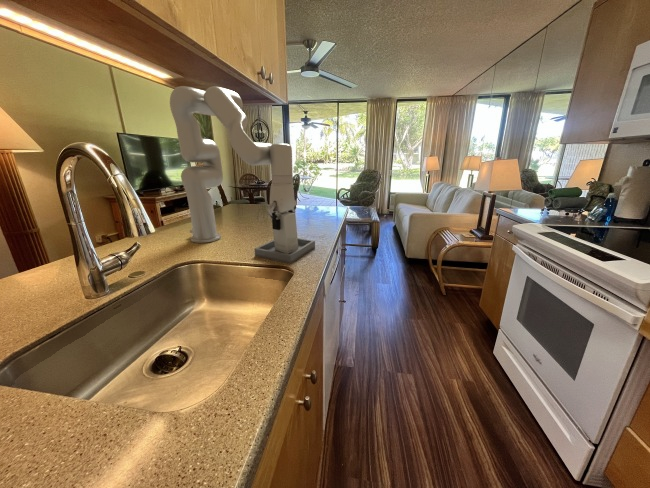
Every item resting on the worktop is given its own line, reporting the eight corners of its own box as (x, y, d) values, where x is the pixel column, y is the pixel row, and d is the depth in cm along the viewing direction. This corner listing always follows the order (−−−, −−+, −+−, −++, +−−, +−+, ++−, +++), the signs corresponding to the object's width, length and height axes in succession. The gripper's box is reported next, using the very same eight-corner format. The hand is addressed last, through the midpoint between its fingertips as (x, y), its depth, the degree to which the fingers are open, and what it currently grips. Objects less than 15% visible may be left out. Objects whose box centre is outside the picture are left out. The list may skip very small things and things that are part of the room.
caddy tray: (255, 256, 99) (254, 248, 98) (282, 242, 115) (282, 235, 114) (290, 263, 93) (290, 255, 92) (315, 247, 108) (315, 240, 107)
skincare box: (298, 250, 102) (297, 213, 97) (286, 254, 98) (284, 215, 93) (285, 245, 108) (283, 209, 103) (273, 249, 104) (270, 212, 99)
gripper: (287, 177, 103) (288, 220, 109) (258, 182, 89) (261, 230, 94) (303, 178, 100) (304, 222, 106) (276, 183, 86) (279, 233, 91)
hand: (284, 226), depth 100 cm, fingers open, 9 cm apart
